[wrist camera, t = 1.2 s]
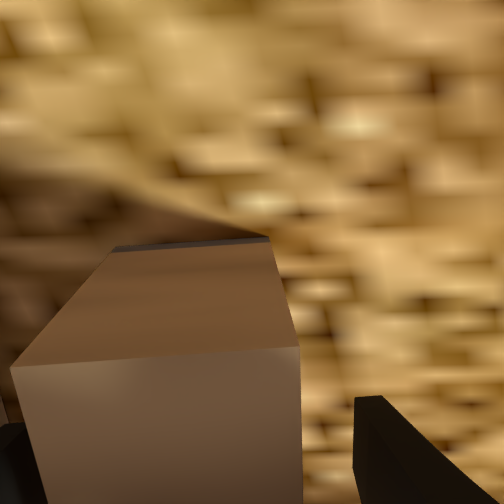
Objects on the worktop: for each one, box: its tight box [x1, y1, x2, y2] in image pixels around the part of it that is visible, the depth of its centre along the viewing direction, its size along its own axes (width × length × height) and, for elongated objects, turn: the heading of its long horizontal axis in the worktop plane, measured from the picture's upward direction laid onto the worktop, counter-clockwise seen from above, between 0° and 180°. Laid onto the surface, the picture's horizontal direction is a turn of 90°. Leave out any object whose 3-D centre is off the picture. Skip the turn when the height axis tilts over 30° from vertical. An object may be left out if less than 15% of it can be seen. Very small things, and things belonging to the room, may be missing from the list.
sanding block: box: [9, 237, 303, 504], centre depth 10 cm, size 8×4×6 cm, turn 3°
